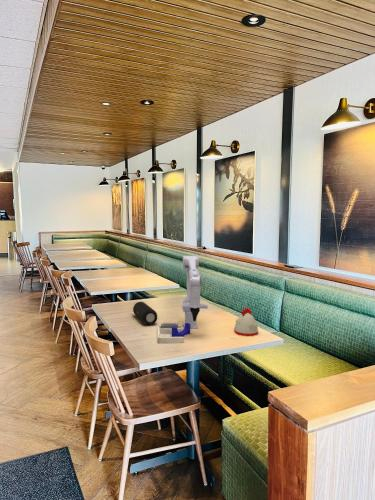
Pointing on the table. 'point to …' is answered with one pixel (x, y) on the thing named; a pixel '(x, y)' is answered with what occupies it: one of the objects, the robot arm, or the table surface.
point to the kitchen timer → (246, 324)
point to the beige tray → (169, 339)
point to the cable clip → (183, 332)
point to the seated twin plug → (169, 325)
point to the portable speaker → (145, 313)
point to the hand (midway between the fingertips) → (194, 320)
